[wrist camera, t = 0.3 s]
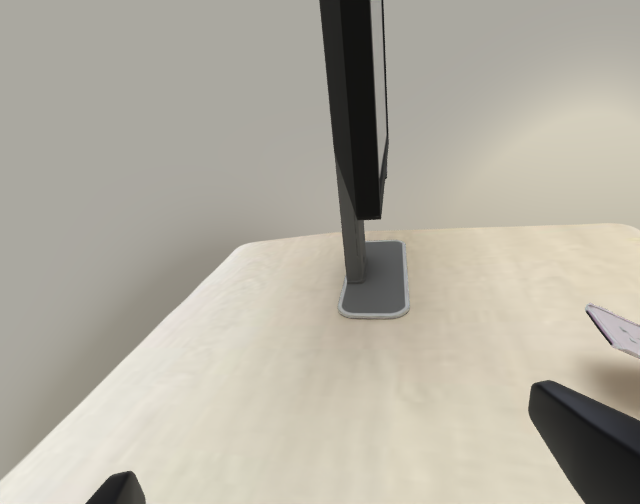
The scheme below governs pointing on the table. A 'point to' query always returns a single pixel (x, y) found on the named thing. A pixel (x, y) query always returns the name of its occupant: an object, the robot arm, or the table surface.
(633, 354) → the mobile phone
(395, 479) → the table surface
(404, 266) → the computer monitor
